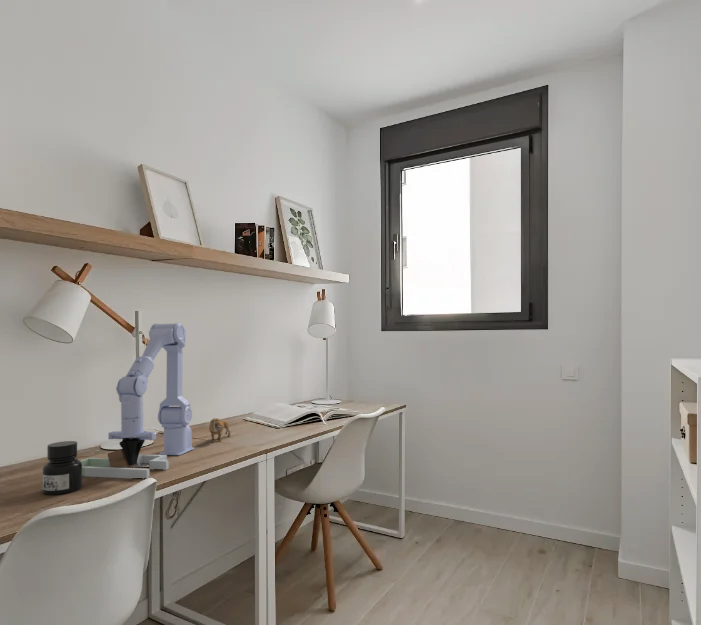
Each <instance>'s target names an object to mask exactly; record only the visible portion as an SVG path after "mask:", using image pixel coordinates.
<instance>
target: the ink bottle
mask: <svg viewBox="0 0 701 625" xmlns="http://www.w3.org/2000/svg"><path fill="white" fill-rule="evenodd" d="M46 453H47V462H46V464H45V465H44V466H43V467H42V473H41V474H42V475H41V476H42V481H41V482H42V486H41V487H42V493H43V494H45V495H62V494H68V493H71V492H74V491H77V490H80V489H81V488H82V487H83V476H82V463H81V461H80V460H81V459H80V460H79V459H78V458H76V457H77V456H78V441H76V440H74V441H73V440H68V441H67V440H65V441H58V442H57V441H56V442H53V443H50V444H47V452H46Z"/></svg>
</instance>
